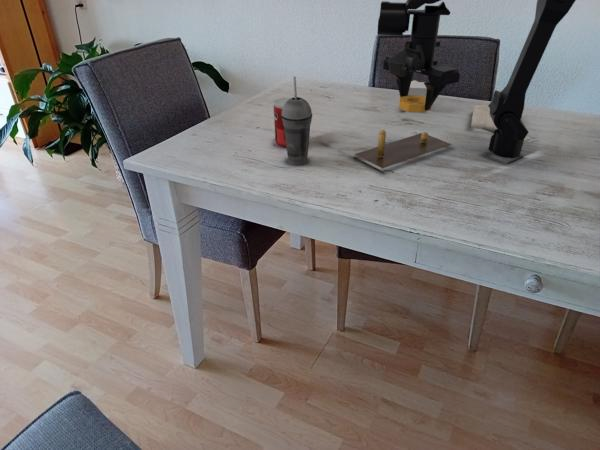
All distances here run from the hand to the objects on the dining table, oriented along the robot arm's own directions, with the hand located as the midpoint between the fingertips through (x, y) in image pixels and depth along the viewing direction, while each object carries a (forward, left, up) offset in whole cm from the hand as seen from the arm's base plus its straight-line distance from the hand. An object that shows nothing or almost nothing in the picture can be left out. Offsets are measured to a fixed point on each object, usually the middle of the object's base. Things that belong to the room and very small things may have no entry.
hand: (414, 105), depth 108 cm
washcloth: (0, -34, -12) cm, 36 cm away
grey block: (+24, -26, -12) cm, 37 cm away
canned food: (+23, +21, -12) cm, 33 cm away
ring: (0, 0, 0) cm, 0 cm away
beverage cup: (+12, +26, -12) cm, 31 cm away
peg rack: (0, +2, -12) cm, 12 cm away
